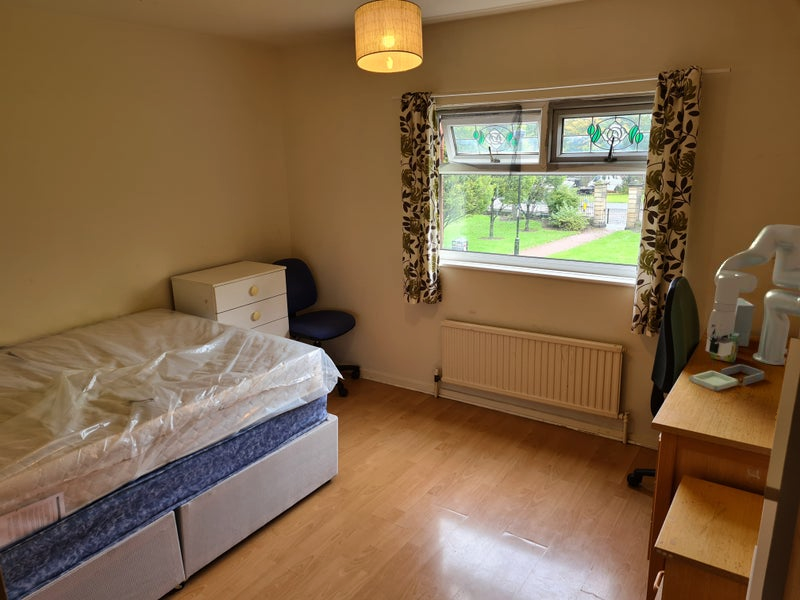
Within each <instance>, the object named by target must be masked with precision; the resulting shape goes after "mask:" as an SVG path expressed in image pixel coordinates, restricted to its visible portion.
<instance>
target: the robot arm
mask: <svg viewBox="0 0 800 600" xmlns="http://www.w3.org/2000/svg"><path fill="white" fill-rule="evenodd" d="M774 255H775V259H774V266H773V272H772V283H773V285H775V286H777V287H780V288H785V289H790V290H795V292H794V291H790V290H785V289H779V288H778V289H777V288H776V289H770V290H769V291H767V292H766V293H765V295H764V297H763V308H764V309H763V311H764V314H763V321H762V326H761V330H760V331H761V332H760V338H759V344H758V349H757V352H756V353H753V355H752V358H753V359H754V360H756V361H758V362H760V363H763V364H767V365H774V366H783V365H786V364H785V361H786V359H787V358H786V357H785V355H786V354H788V353H787V350H788V349H787V348H786V347H787V343H788V336H789V331H790V325H791V324H790V323H791V321H790V319H789V317H788V315H791V316H794V317H800V225H795V224H794V225H793V224H784V223H783V224H779V223H777V224H769V225H766V226H765V227H763V229H761V231H760V232H759V234H757V237H755V239H754V241H753V242H752V243H751V244H750V246H749V248H747V249H746V250H743V251H742V252H739V253H736V254H734V255H733V256H731V257H729V258H727V259H726V260H725V261H723V263H722V264H721V266H720V267H719V269H718V270H717V272H716V273H715V276H714V284H715V286H716V287H715V292H714V293H715V295H714V301H713V306H712V310H711V312H710V316H709V319H708V324H707V330H706V333H707V335H706V338H707V337H708V338H709V340H710V348H709V351H710V352H712V353H715V354H717V353H718V348H719V344H718V342H719V339H720V337H721V336H722V337H726V338H729V339H730V337H731V336H732V334H733V333H734V327H735V317H736V307H737V301H738V298H739V295H740V294H747V293H752V292H753V291H754V290H756V289H757V287H758V278H757V277H756V275H754V274H751V273H748V272H742V271H739V270H740V269H744V268H748V267H758V266H762V265H765V264H767V263H769V262H770V261H771V259H772V258H773V256H774ZM796 291H799V292H796ZM715 334H716V335H715ZM714 337H717V338H716V339H715V338H714ZM710 352H709V353H710ZM712 353H711V354H712Z"/></svg>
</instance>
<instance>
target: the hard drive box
mask: <svg viewBox="0 0 800 600" xmlns="http://www.w3.org/2000/svg"><path fill="white" fill-rule="evenodd" d="M755 306H756V305H754V304H752V303H751V302H749V301H747V300H745V299H744V298H743V297H738V301H737V307H736V317H735V327H734V332H737V333H741V335H740V340H739V346H738V347H749V344H750V337H751V333H752V326H753V319H754V314H755Z"/></svg>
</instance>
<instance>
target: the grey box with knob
mask: <svg viewBox="0 0 800 600" xmlns="http://www.w3.org/2000/svg"><path fill="white" fill-rule="evenodd" d="M714 338H715V339H716V338H717V337H714ZM706 342H707V344H705V345H706V346H705V351H706V352H708V353H710V354H712V352H710V351H709V348H710V340H709V338H708V337H707V336H706ZM732 343H733V340H732V339H729V338H726V337H722V336H721V337H720V339H719V342H718V344H719V348H718V353H717V354H716V355H719V356H726V355H730V354H731V350H732ZM713 354H715V353H713Z"/></svg>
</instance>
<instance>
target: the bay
mask: <svg viewBox="0 0 800 600" xmlns="http://www.w3.org/2000/svg"><path fill="white" fill-rule="evenodd" d="M740 372H741V373H744V374H747V375H748V376H747V375H746V376H744V377H743V381H742V385H743V386H746V385H751V384H753V383H756V382H759V381H764V379H765V375H766V373H765V371H763V370H761V369H758V368H755V367H752V366H749V365H745V364H741V363H740V364H739V363H738V364H735V365H731V366H728V367H724V368H721V369H720V373H721V374H724V375H726V376H730V375H733V374H736V373H740Z"/></svg>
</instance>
